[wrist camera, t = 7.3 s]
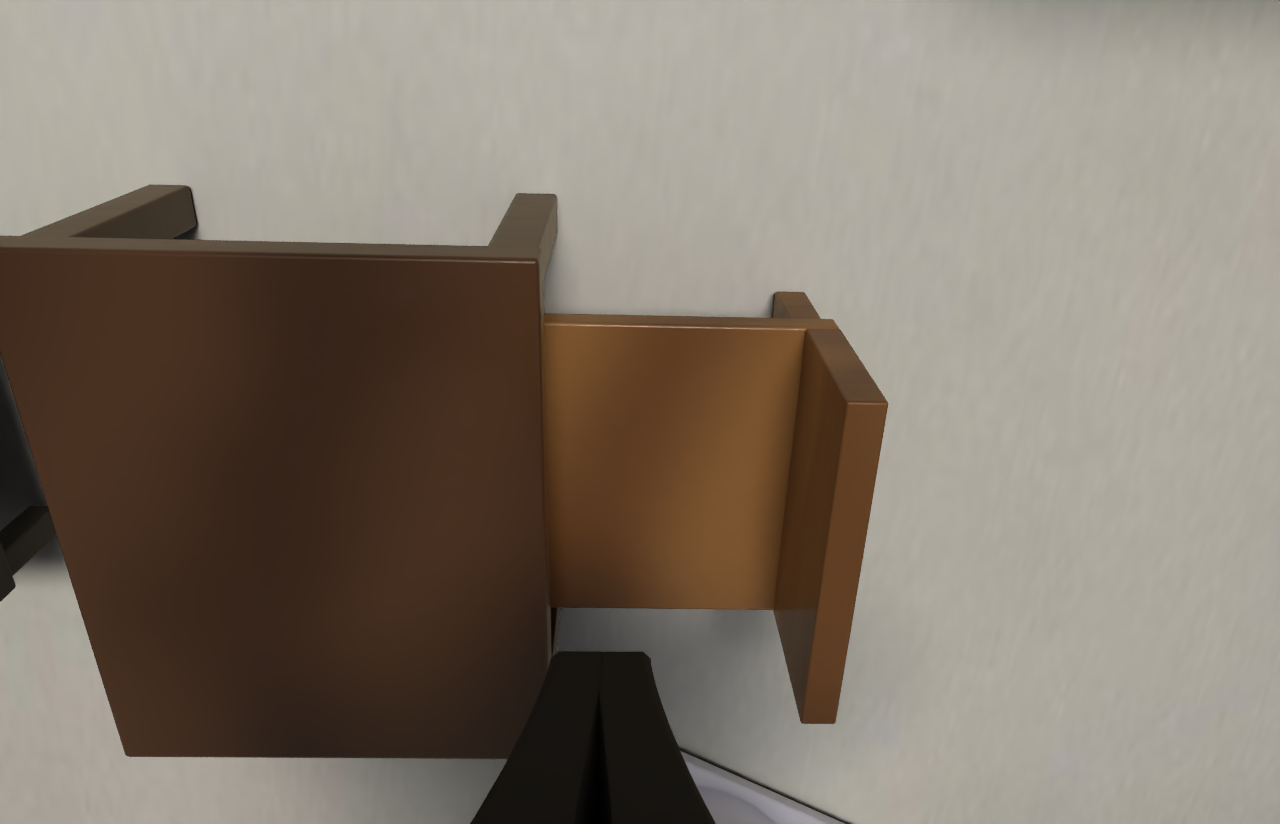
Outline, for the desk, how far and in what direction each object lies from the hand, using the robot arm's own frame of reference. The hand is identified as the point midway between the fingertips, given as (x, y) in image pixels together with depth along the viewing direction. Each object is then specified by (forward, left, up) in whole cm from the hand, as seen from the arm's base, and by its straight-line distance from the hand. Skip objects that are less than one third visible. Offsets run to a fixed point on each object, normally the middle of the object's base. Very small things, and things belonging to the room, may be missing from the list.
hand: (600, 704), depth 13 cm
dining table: (+5, +3, -10) cm, 11 cm away
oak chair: (-1, 0, -10) cm, 10 cm away
